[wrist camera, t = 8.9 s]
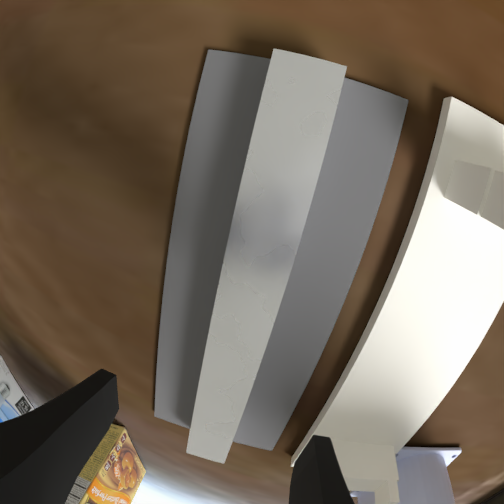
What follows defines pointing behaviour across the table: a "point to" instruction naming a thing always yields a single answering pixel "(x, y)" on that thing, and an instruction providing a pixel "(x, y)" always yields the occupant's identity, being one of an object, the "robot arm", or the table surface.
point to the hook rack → (424, 306)
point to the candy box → (109, 472)
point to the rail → (263, 239)
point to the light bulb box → (11, 395)
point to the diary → (495, 498)
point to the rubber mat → (308, 253)
